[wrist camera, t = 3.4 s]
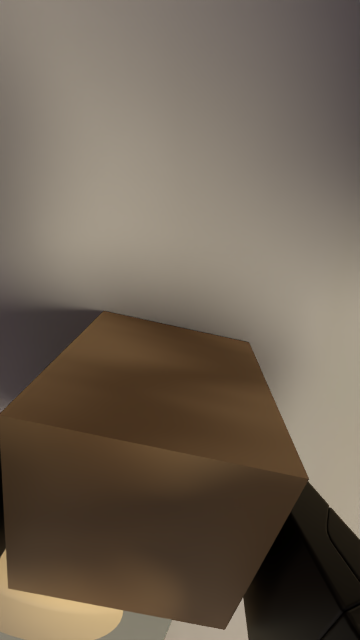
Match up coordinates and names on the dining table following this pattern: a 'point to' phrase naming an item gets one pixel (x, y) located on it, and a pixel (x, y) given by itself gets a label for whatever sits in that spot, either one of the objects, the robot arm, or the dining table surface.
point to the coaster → (69, 618)
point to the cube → (146, 472)
